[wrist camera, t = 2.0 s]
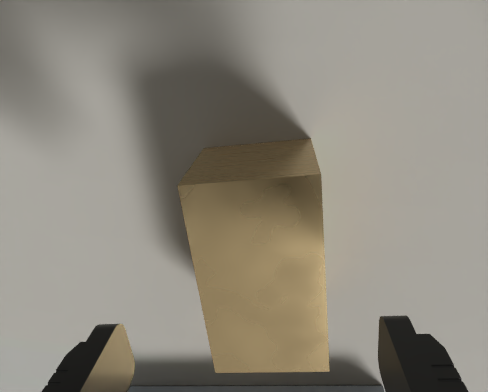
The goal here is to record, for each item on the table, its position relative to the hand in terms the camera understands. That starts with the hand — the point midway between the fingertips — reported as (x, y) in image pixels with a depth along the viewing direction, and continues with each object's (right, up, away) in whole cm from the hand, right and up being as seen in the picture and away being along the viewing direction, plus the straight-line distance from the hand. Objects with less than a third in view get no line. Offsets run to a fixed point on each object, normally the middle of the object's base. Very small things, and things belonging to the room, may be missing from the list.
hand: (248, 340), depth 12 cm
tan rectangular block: (+1, +3, +7) cm, 8 cm away
